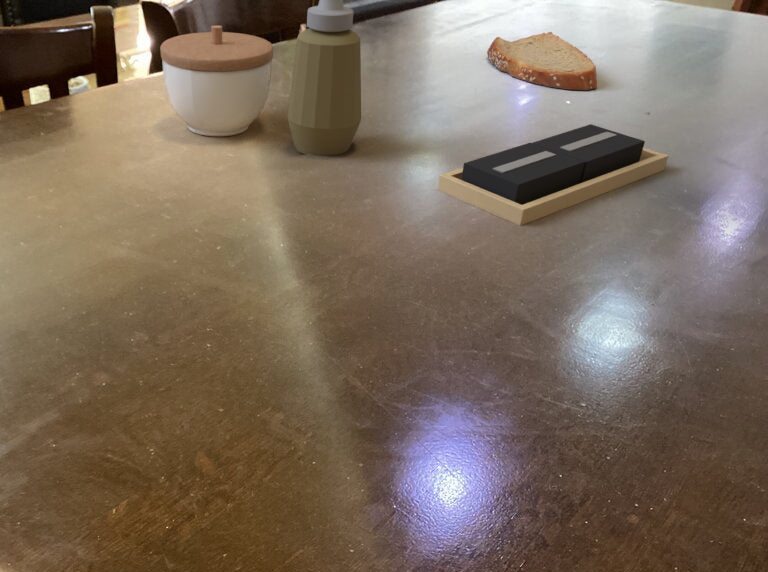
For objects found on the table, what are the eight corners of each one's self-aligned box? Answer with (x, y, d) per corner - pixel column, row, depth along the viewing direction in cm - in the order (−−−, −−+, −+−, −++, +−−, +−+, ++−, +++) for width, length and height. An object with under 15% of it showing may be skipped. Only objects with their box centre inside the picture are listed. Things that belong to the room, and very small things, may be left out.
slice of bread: (590, 94, 108) (598, 65, 106) (461, 73, 116) (465, 45, 113) (619, 64, 120) (626, 37, 118) (501, 47, 128) (505, 21, 126)
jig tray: (580, 146, 92) (585, 128, 91) (663, 173, 85) (669, 155, 84) (436, 194, 80) (439, 174, 79) (519, 230, 74) (523, 209, 73)
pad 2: (583, 151, 89) (590, 122, 87) (637, 169, 85) (645, 139, 83) (525, 170, 84) (532, 141, 82) (579, 191, 80) (587, 160, 78)
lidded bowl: (288, 118, 98) (291, 21, 92) (243, 151, 89) (243, 45, 83) (196, 104, 103) (193, 9, 96) (144, 134, 93) (137, 32, 87)
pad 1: (524, 170, 84) (530, 141, 82) (577, 190, 80) (585, 160, 78) (458, 192, 79) (463, 161, 78) (512, 215, 75) (518, 183, 73)
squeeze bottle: (349, 167, 86) (364, -21, 75) (276, 157, 88) (281, -27, 77) (366, 142, 92) (382, -35, 82) (297, 133, 94) (304, -40, 84)
